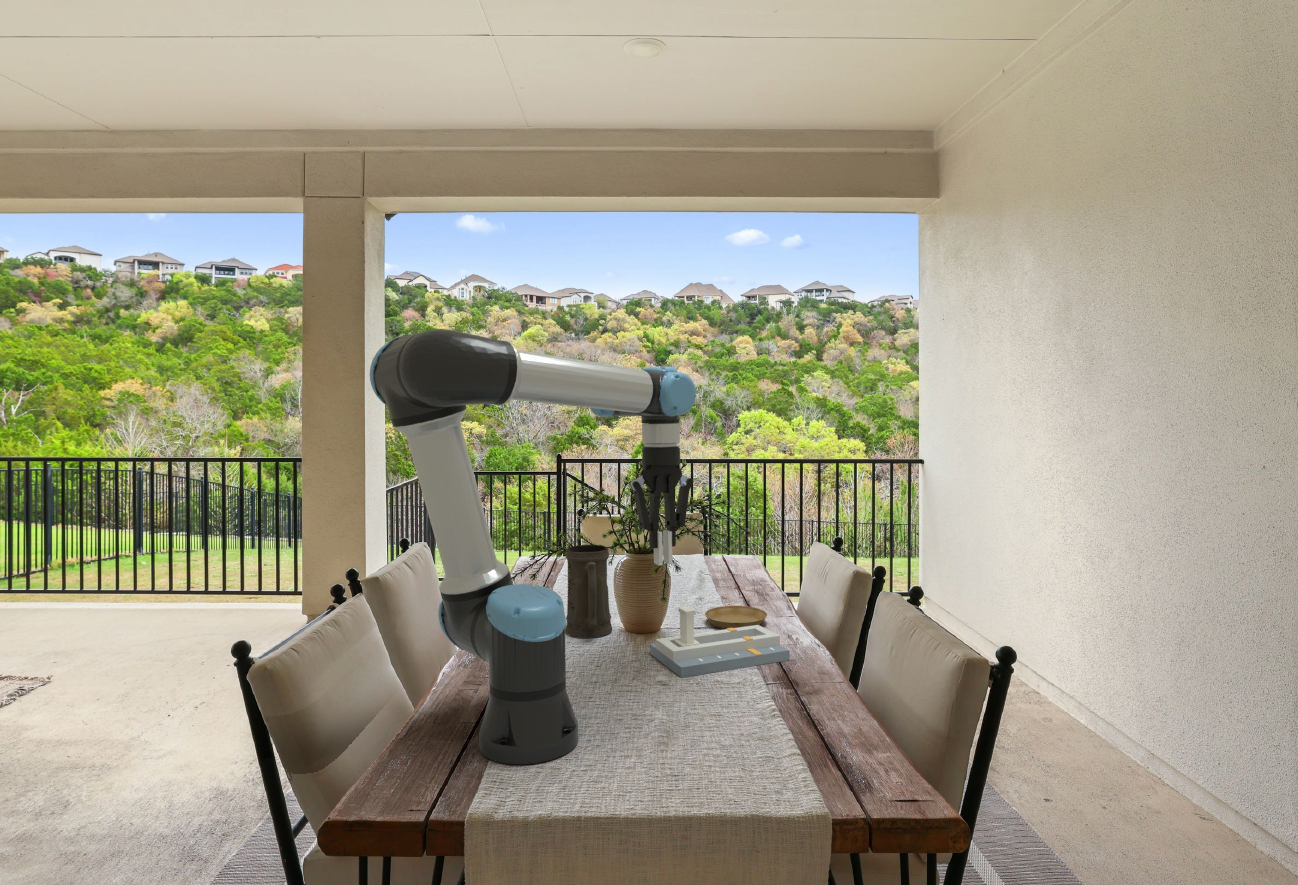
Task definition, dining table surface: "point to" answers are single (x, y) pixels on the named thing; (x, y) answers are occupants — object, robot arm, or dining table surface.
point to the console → (721, 651)
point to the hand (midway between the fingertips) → (663, 563)
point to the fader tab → (686, 627)
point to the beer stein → (588, 592)
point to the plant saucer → (735, 616)
